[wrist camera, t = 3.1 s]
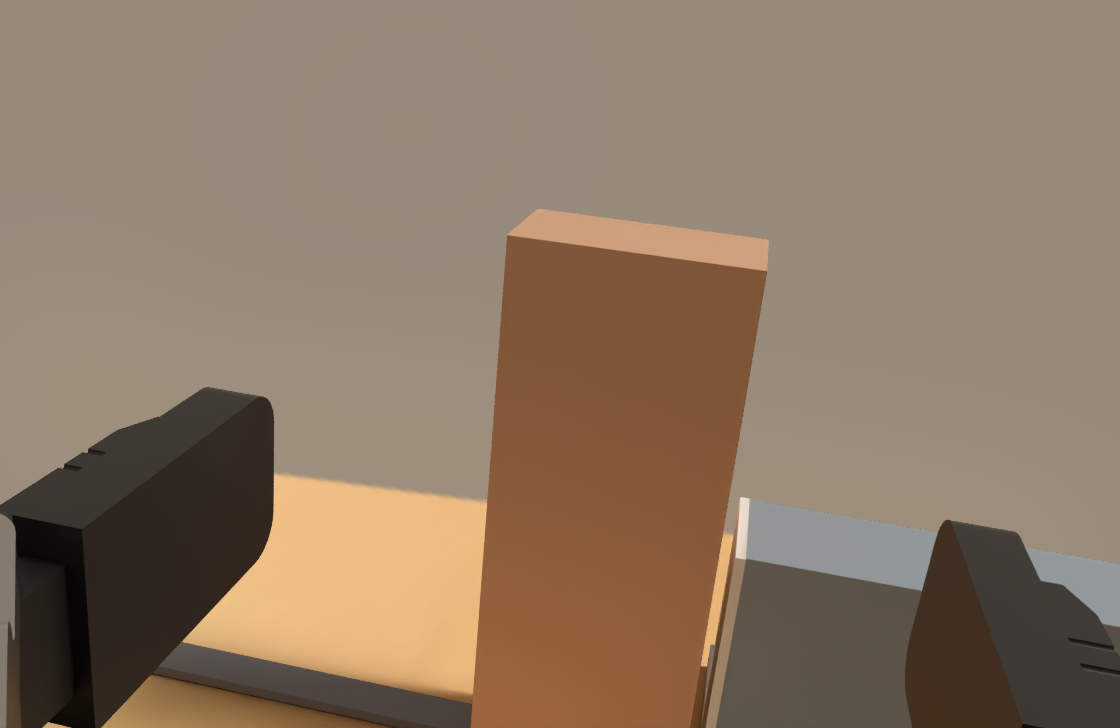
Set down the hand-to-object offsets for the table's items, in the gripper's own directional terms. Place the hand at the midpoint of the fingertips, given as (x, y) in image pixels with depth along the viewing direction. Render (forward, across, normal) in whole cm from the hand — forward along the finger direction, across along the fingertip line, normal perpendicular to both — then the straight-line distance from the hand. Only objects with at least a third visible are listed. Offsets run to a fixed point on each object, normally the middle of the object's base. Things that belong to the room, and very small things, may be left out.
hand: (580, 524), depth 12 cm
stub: (+12, +1, +14) cm, 18 cm away
